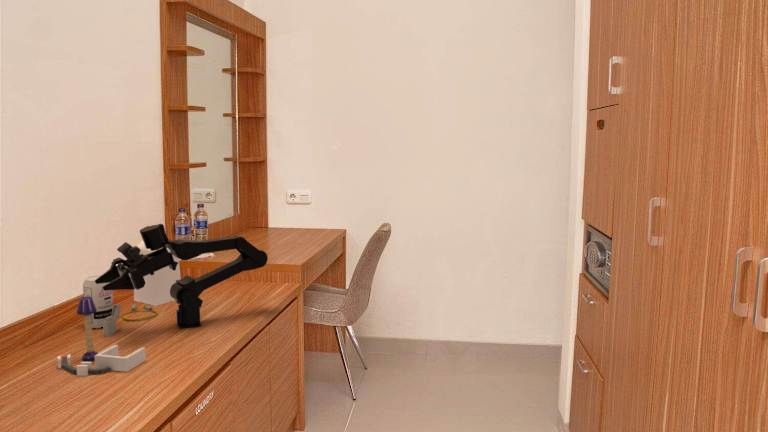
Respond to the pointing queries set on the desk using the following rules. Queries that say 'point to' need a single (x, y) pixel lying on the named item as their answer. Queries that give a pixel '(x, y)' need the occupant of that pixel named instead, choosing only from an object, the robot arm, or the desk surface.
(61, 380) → the desk surface
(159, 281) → the milk
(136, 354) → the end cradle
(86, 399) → the desk surface
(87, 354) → the toy lamp
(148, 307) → the extension cord
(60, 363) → the clip
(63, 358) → the cable run
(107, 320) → the lighter
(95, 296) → the supplement can
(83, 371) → the clip
